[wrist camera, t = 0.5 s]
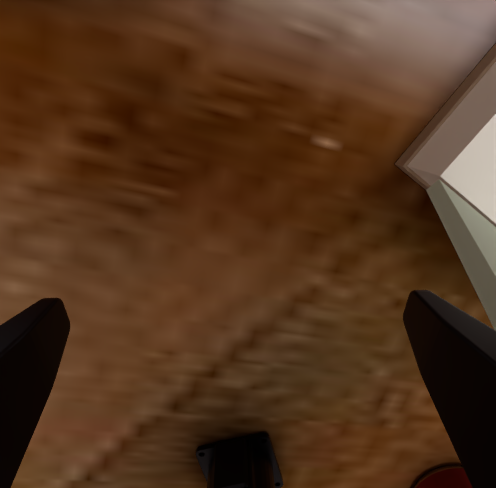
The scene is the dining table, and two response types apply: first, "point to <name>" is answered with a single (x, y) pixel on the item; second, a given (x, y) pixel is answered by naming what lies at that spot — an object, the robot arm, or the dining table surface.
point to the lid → (469, 242)
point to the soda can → (445, 478)
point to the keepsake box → (461, 142)
